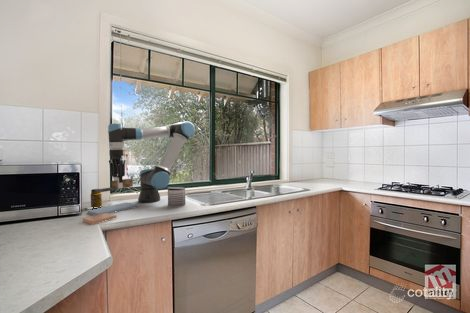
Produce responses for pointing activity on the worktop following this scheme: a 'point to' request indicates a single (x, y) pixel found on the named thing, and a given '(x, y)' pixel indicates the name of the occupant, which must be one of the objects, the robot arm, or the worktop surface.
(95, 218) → the tile
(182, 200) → the can
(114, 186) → the turner
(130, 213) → the worktop surface
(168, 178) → the robot arm
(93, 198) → the condiment
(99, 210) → the board
